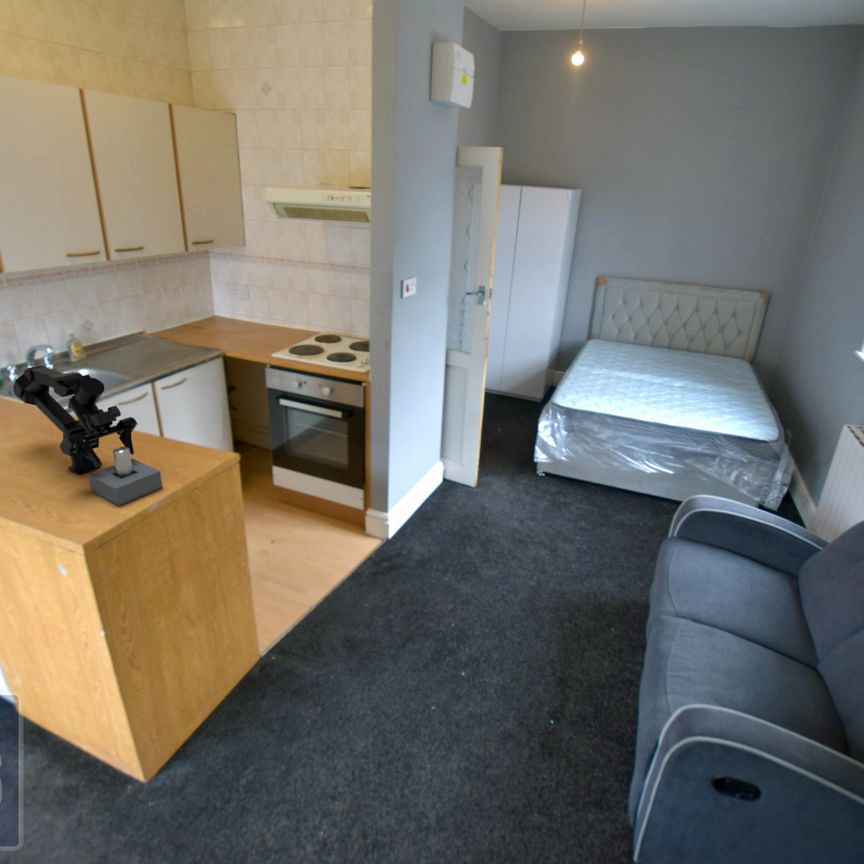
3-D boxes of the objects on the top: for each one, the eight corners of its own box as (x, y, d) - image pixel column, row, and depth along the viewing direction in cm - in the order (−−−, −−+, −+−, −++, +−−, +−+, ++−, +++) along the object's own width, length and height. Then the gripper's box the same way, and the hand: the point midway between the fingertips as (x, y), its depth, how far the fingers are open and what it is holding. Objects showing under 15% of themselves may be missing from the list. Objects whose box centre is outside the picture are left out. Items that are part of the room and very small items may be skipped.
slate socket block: (91, 492, 161) (88, 474, 159) (135, 475, 171) (132, 458, 169) (119, 506, 155) (115, 488, 152) (162, 488, 165) (160, 471, 163)
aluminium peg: (116, 491, 161) (109, 452, 156) (123, 484, 164) (117, 446, 160) (130, 492, 161) (124, 453, 156) (137, 485, 165) (131, 447, 160)
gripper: (60, 408, 149) (92, 458, 148) (128, 390, 164) (157, 436, 163) (50, 428, 156) (80, 476, 155) (116, 409, 170) (144, 453, 170)
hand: (117, 459), depth 161 cm, fingers open, 9 cm apart
